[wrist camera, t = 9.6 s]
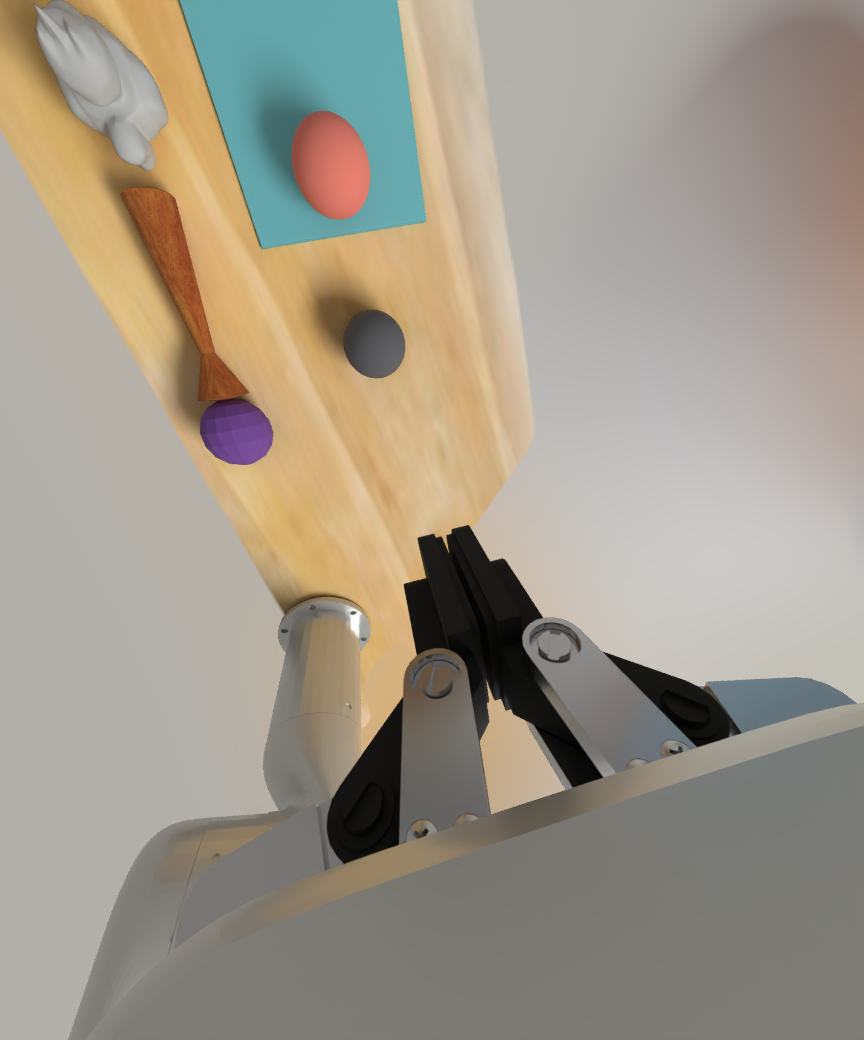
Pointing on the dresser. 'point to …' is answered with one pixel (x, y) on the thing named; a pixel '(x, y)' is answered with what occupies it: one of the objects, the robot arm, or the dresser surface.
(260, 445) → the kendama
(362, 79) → the teal mark
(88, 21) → the gray statuette
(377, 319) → the dark gray ball
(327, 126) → the red ball
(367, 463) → the dresser surface
